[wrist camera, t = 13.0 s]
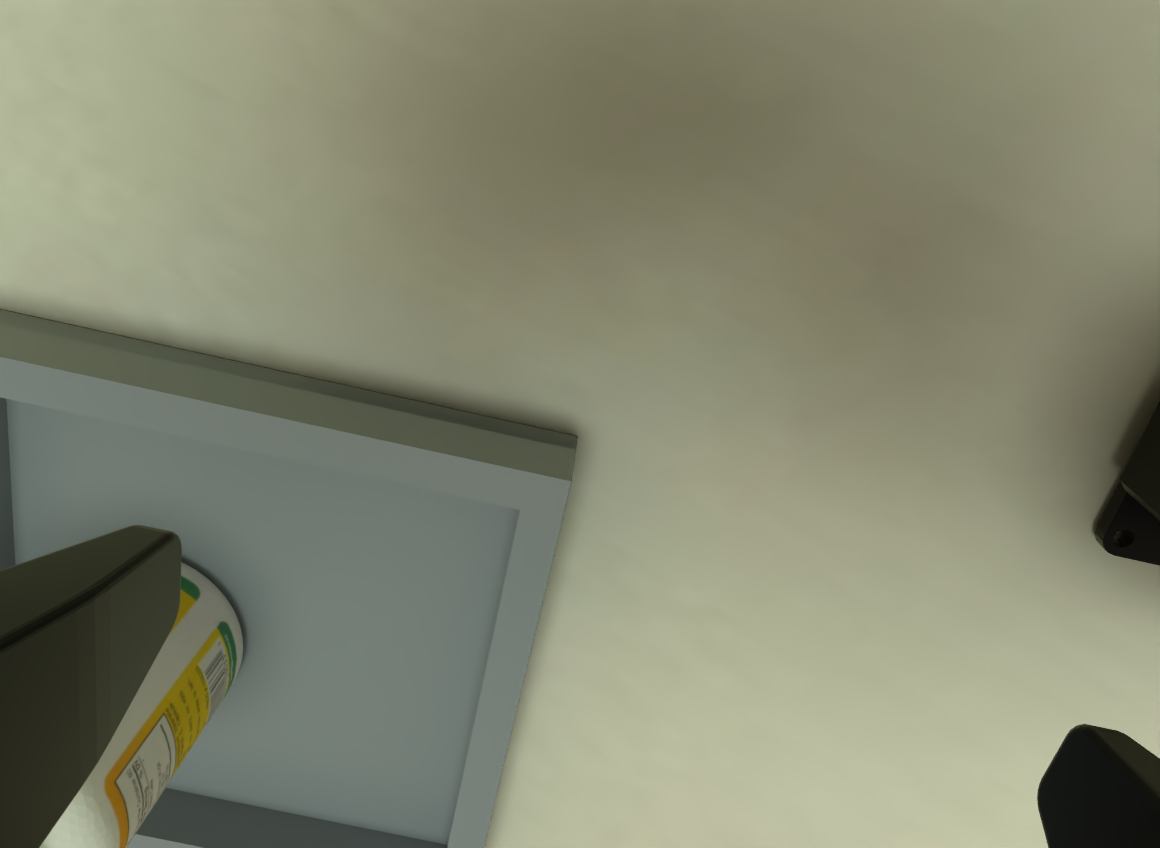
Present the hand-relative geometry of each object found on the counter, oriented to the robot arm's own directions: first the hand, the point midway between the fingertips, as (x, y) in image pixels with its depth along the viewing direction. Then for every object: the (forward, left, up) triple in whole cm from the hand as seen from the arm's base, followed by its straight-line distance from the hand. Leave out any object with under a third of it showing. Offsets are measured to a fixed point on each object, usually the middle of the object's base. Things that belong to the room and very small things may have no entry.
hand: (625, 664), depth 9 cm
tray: (+8, +11, -13) cm, 19 cm away
